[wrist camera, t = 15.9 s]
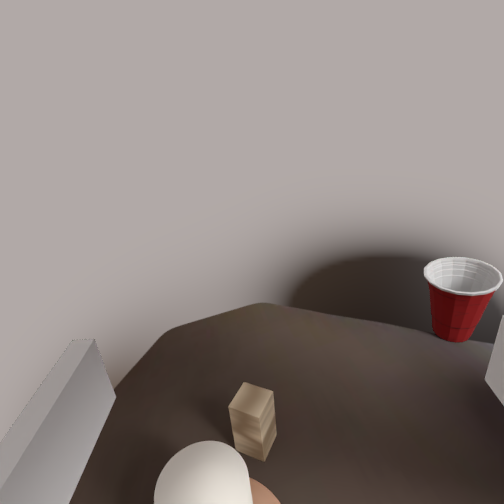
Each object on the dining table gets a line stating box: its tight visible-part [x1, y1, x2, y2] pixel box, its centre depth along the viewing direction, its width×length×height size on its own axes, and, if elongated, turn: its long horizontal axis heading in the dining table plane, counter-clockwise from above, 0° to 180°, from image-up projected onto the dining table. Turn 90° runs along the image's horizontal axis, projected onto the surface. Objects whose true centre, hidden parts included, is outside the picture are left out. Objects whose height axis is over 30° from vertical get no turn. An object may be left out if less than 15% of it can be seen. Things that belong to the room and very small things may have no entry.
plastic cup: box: [424, 257, 503, 342], centre depth 58 cm, size 11×11×12 cm
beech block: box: [229, 382, 277, 462], centre depth 44 cm, size 4×4×8 cm
